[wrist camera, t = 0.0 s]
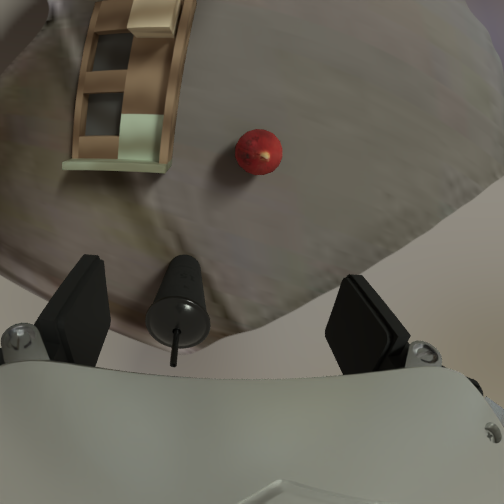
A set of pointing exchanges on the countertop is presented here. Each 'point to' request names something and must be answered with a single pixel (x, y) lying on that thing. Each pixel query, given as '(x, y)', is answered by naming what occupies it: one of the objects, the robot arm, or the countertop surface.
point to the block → (154, 18)
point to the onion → (258, 152)
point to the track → (127, 93)
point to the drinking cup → (179, 308)
